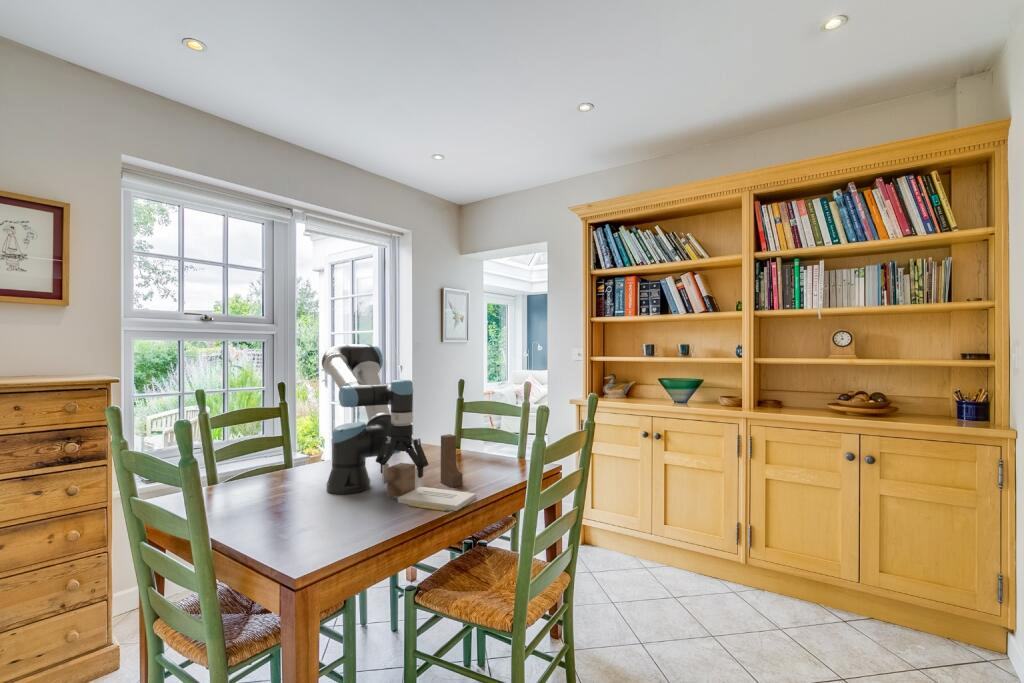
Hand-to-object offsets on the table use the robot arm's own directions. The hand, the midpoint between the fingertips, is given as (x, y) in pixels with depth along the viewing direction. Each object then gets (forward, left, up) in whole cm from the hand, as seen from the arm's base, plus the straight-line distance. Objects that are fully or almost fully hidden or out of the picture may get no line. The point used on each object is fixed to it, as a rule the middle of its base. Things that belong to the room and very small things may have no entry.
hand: (401, 484), depth 171 cm
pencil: (+16, -10, -3) cm, 19 cm away
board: (+15, -1, -3) cm, 15 cm away
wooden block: (+10, +18, -4) cm, 21 cm away
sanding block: (0, 0, -3) cm, 3 cm away
